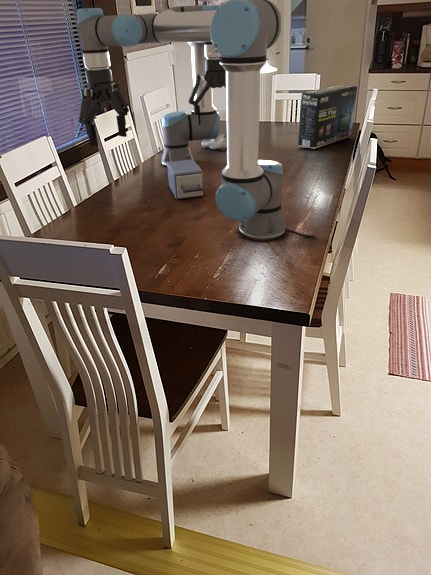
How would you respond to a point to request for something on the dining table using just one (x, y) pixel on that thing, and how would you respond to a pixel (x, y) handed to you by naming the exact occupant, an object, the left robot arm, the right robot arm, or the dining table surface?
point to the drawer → (189, 185)
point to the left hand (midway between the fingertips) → (217, 123)
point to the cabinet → (181, 173)
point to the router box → (326, 115)
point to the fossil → (216, 142)
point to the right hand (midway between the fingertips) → (109, 141)
